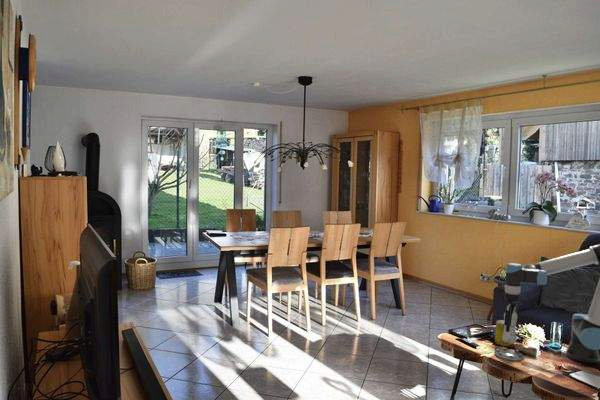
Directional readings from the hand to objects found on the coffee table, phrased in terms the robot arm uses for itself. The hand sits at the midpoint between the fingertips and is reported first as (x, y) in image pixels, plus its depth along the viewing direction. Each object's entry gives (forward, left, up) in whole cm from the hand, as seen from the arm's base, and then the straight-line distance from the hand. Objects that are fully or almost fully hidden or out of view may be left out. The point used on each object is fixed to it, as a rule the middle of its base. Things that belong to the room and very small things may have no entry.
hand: (509, 335), depth 248 cm
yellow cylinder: (+8, -18, -11) cm, 23 cm away
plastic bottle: (0, 0, -4) cm, 4 cm away
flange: (0, 0, -11) cm, 11 cm away
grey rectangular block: (-6, -9, -11) cm, 15 cm away
